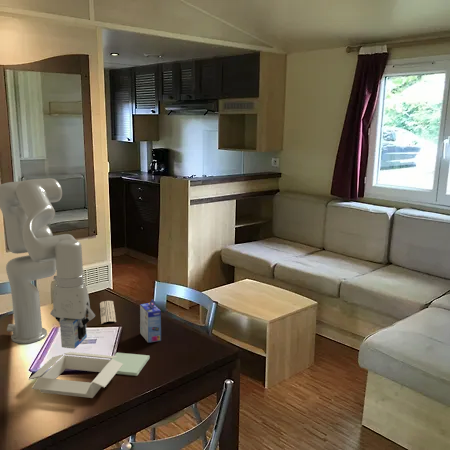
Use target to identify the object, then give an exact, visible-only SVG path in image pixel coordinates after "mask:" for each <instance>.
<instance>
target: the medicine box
mask: <svg viewBox="0 0 450 450" xmlns="http://www.w3.org/2000/svg"><path fill="white" fill-rule="evenodd" d="M78 327H79V323H78V319H67V318H64V319H63V320H62V321H61V322H60V324H59V328H60V329H59V330H60V331H59V332H60V341H61V348H64V349H65V348H66V349H73V350H74V349H76V348H77V347H78V346H79V345H80V344H82V342H83V341H84V340H86V339H87V337H88V336H87V332H86V335H85V336H84V337H83V338H82V339H79V338H78Z"/></svg>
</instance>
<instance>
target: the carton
mask: <svg viewBox="0 0 450 450" xmlns="http://www.w3.org/2000/svg"><path fill="white" fill-rule="evenodd" d="M114 358H117V356H114V355H106V354H95V353H94V354H93V353H85V352H84V353H83V352H73V351H72V352H71V351H69V352H65V353H64V354H59V355H55V356H52V357H51V358H50V359H49V360H48V361H46V363H44V365H42V366H41V367H40V368H38V370H37V371H36V372H35V373H33V374H32V375H31V376H30V377H29V378H28V380H33V379H36V380H35V382H34V384H33V385H32V387H31V390H38V391H39V392H40V393H43V394H44V393H45V394H51V395H59V396H60V395H62V396H71V397H80V398H88V399H89V398H90V399H93V398H94V397H95V396H96V394H97V393H98V392H99V391H100V390H101V388H104V389H105V387H107V385H108V384H109V383H110V382H111V380H113V378H114V376H116V373H117V372H118V370H119V369H120V368H121V367H122V365H123V364H122V363H120V362H118V361H116V360H113V359H114ZM111 359H112V360H111ZM66 369H67V370H74V371H75V370H77V371H85V372H86V371H87V372H95V373H97V372H98V374H97V375H96V377H95V378H94V379H93V380H92V381H91V382H89V381H87V382H86V381H79V380H68V379H58V377H59V376H60V375H61V374H62V373H64V371H65V370H66Z"/></svg>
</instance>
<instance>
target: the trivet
mask: <svg viewBox="0 0 450 450" xmlns="http://www.w3.org/2000/svg"><path fill="white" fill-rule="evenodd" d="M113 356H117V358H114V359H113V360H116V361H118V362H120V363H122V364H123V365H122V367H121V368H120V369H119V370H118V372H117V373H116V374H117V375H125V376H135V377H137V376H138V375H139V374H140V372H141V371H142V369H143V368H144V367H145V365H146V364H147V362H148V361H149V360H150V358H151V357H150V355H146V354H139V353H138V354H136V353H125V352H116V353H115V354H114V355H113ZM110 360H112V359H110ZM116 374H115V375H116Z"/></svg>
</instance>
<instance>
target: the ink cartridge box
mask: <svg viewBox="0 0 450 450" xmlns="http://www.w3.org/2000/svg"><path fill="white" fill-rule="evenodd" d="M139 309H140V310H139V315H140V316H139V317H140V318H139V319H140V320H139V321H140V324H139V327H140V328H139V329H140V332H139V333H140V335H141V336H142V337H143V338H144V339H145V341H146V342H147V343H148V344H150V343H155V342H161V341H162V319H161V318H162V310H161V309H160V308H158V306H156V301H155V300H154V299H151V300H150V302H147V303H140V304H139Z"/></svg>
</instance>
